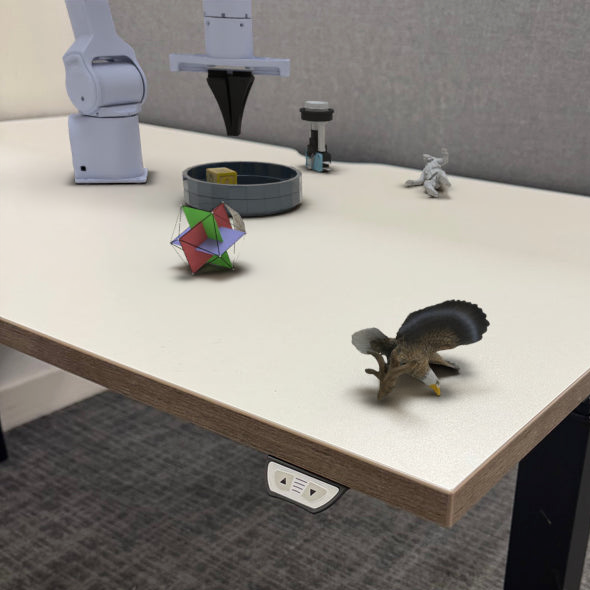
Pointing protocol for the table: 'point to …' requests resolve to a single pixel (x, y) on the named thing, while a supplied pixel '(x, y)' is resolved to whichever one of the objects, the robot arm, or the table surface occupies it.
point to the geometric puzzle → (209, 236)
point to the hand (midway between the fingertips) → (233, 134)
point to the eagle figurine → (421, 342)
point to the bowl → (245, 188)
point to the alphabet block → (221, 176)
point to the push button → (317, 134)
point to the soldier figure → (432, 174)
